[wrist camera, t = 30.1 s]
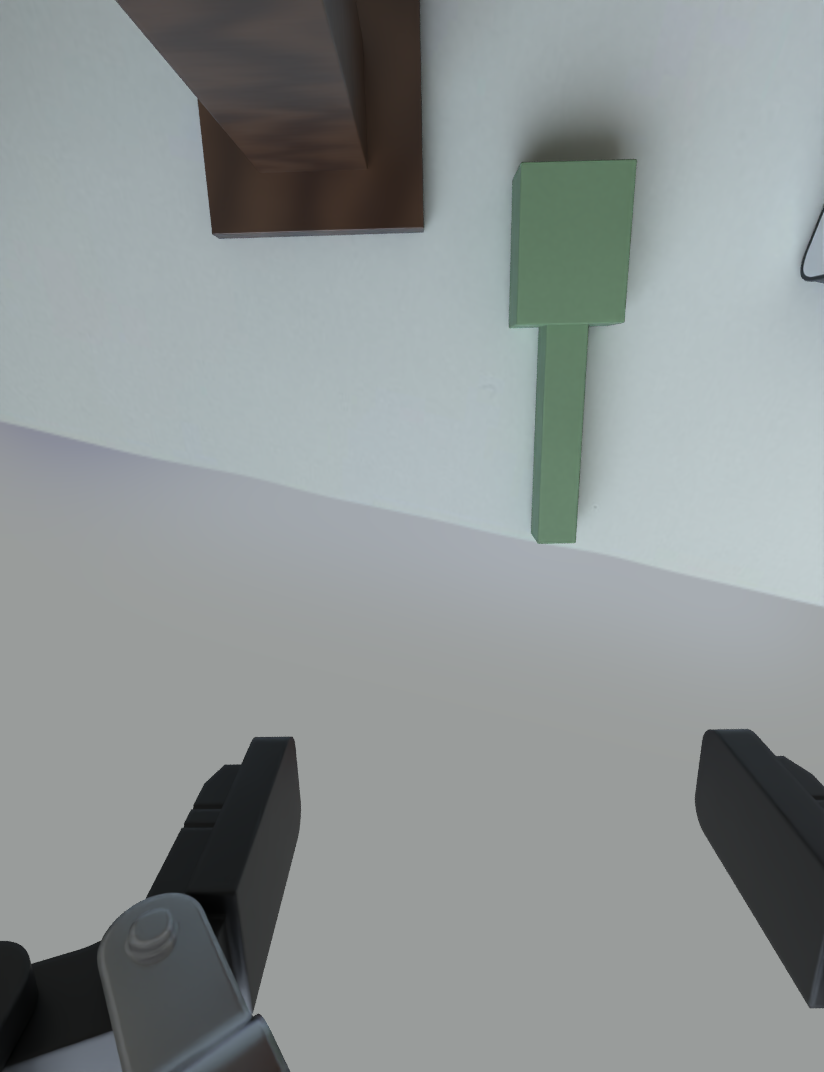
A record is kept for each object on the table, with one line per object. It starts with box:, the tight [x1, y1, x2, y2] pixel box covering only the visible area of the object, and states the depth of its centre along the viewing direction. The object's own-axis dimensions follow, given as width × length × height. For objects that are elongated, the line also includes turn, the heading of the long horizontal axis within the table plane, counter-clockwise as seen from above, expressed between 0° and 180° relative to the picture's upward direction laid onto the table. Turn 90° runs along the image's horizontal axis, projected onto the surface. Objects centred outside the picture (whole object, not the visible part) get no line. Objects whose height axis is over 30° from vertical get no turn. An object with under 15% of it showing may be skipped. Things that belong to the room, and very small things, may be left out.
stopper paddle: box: [509, 159, 637, 544], centre depth 35 cm, size 6×21×3 cm, turn 1°
